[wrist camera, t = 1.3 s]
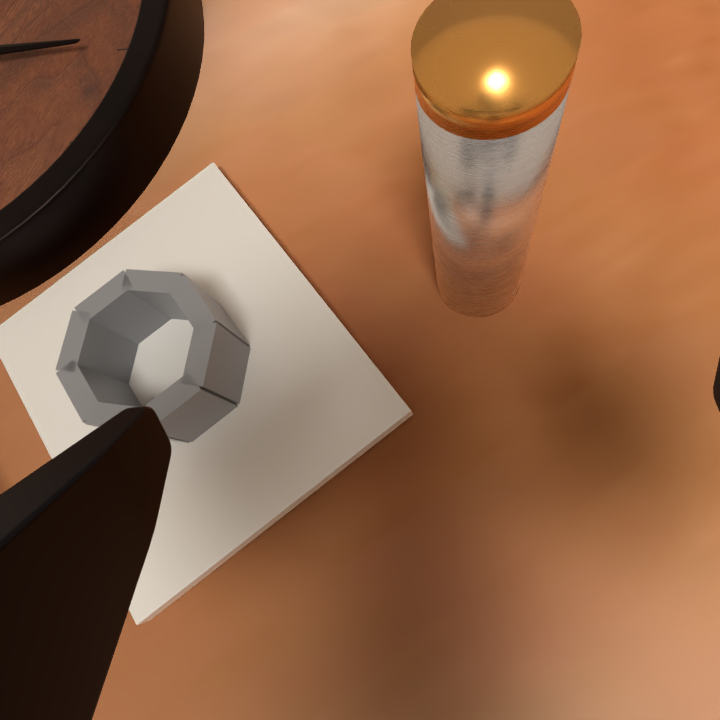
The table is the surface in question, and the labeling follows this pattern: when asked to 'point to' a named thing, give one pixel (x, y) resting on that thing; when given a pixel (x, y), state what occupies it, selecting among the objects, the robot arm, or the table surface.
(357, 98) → the table surface
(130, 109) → the wall clock
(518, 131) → the gold topped patterned cylinder
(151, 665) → the table surface
